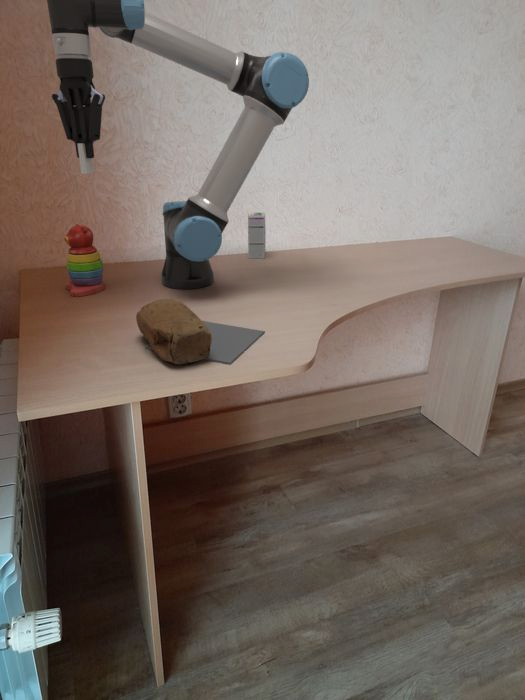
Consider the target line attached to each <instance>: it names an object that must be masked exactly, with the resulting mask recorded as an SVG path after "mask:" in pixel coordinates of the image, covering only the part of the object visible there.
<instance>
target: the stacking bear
mask: <svg viewBox="0 0 525 700" xmlns="http://www.w3.org/2000/svg"><path fill="white" fill-rule="evenodd" d="M93 233H94V232H93V231H92V229H91V228H89V227H88V226H87V225H81V224H77V223H76V224H75V225H74V226H72V227H71V228H69V230H68V232H67V233H66V235H65V237H64V242H65V243H66V244H67V245H68V246H69V248H68V250H67V252H68V253H67V258H66V260H67V261H66V268H67V274H68V276H69V278H70V281H67V282H66V283H65V285H64V287H65V289H66V290H68V291H69V295H70V296H71V297H74V296H75V297H79V296H80V297H85V296H91V295H94V294H98V293H100V292H102V291H104V289H105V284H104V282H103V274H104V267H103V266H104V265H103V259H102V258H101V254H100V251H99V250H97V247H95V246H94V245H93V243H94V234H93Z"/></svg>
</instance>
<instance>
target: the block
mask: <svg viewBox="0 0 525 700" xmlns="http://www.w3.org/2000/svg"><path fill="white" fill-rule="evenodd" d="M135 316H136V317H135V318H136V323H137V327H138V330H139V331H140V333H141V334H142V336H143V337H144V338H145V339H146V340H147V341H148V344H149V343H150V345H151V347H152V348H153V349H154V350H153V349H152V350H153V351H154V352H155V354H157V355H158V357H159V358H160V359H161V360H163V361H165V362H169V363H171V364H176V365H184V364H188V363H193V362H198V361H201V360H204V359H205V358H207V357H209V355H210V346H211V342H212V337H211V332H210V331H209V329H208V328H207V327H206V325H205V324H204V323H203V322H202V321H203V320H202V319H201V318H199V316H198V315H197V314H196V313H195V312H194V311H193V310H191V308H190V307H188V306H187V305H186V304H185V303H183V302H182V301H179V300H175V299H173V298H163V299H157V300H154V301H152V302H151V303H148V304H146V305H143V306H142V307H141V308H140V310H138V311H137V313H136V315H135Z"/></svg>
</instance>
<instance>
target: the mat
mask: <svg viewBox="0 0 525 700" xmlns="http://www.w3.org/2000/svg"><path fill="white" fill-rule="evenodd" d="M201 321H202V322H203V323H204V324H205V325H206V327H207V328H208V329H209V331H210V332H211V337H212V342H211V346H210V355H209V357H207V358H205V359H203V360H204V361H205V360H206V361H210V362H214V363H221V364H225V365H232V364H233V363H234V362H235V361H236V360H237V359H238V358H239V357H241V355H242V354H244V353H245V352H246V351H247V350H248V349H249V348H250V347H251V346H252V345H254V343H256V342H257V341H258V340H259V339H260V338H261V337H262V336H263V335H265V333H266V331H265V330H260V329H254V328H253V329H252V328H248V327H241V326H236V325H230V324H224V323H217V322H213V321H212V322H211V321H207V320H201ZM259 337H260V338H259ZM258 338H259V339H258ZM144 349H149V350H153V351H154V349H153V348H152V347H151V345H150V343H149V342H148V344H147V345H145V346H144Z"/></svg>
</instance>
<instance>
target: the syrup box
mask: <svg viewBox="0 0 525 700" xmlns="http://www.w3.org/2000/svg"><path fill="white" fill-rule="evenodd" d="M247 238H248V240H247V241H248V243H247V244H248V247H247V248H248V249H247V251H248V259H253V260H254V259H255V260H256V259H257V260H258V259H259V260H260V259H261V260H262V259H265V258H266V213H265V212H249V213H248V215H247Z"/></svg>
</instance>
